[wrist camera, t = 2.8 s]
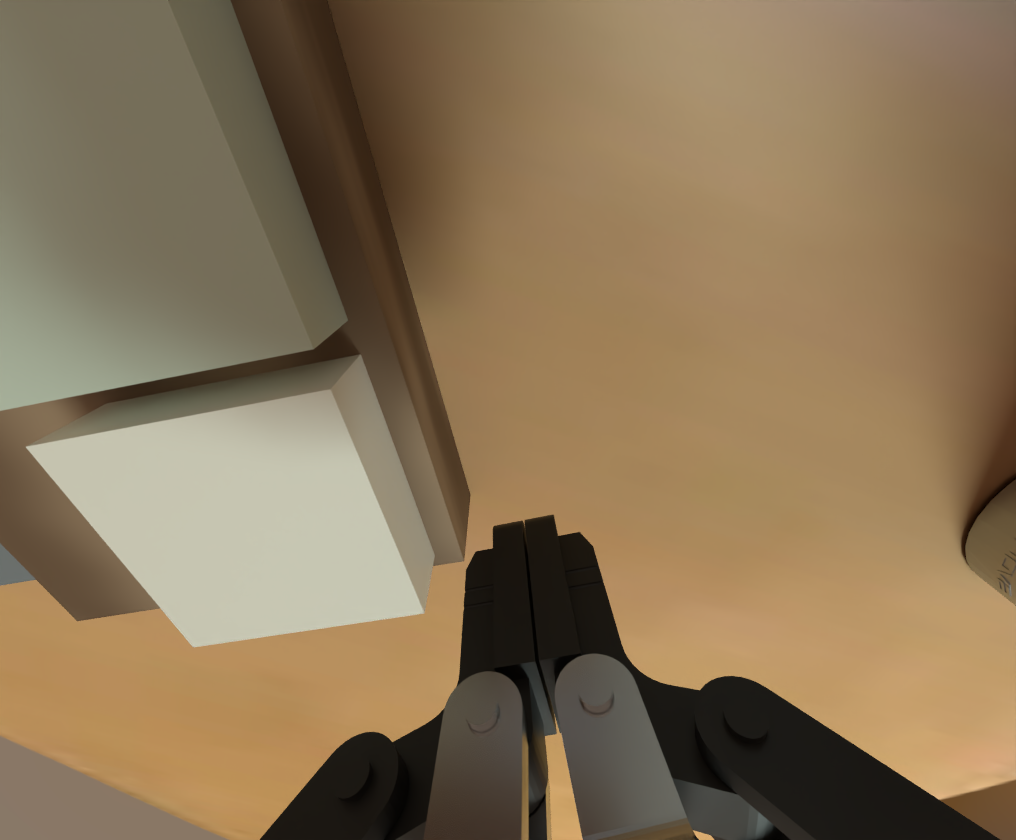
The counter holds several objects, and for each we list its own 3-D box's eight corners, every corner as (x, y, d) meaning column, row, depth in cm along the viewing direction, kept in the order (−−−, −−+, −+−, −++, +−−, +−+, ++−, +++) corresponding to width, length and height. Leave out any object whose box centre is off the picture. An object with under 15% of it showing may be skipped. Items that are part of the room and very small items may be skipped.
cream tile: (360, 354, 12) (330, 389, 10) (434, 555, 16) (424, 613, 14) (106, 403, 13) (25, 446, 11) (233, 587, 17) (193, 647, 14)
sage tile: (198, -86, 8) (89, -188, 6) (348, 320, 12) (313, 349, 10) (-164, 15, 9) (-384, -44, 7) (84, 373, 13) (-4, 411, 10)
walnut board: (316, -37, 12) (235, -139, 8) (470, 495, 20) (464, 561, 16) (-202, 100, 13) (-474, 64, 9) (148, 548, 21) (77, 621, 17)
